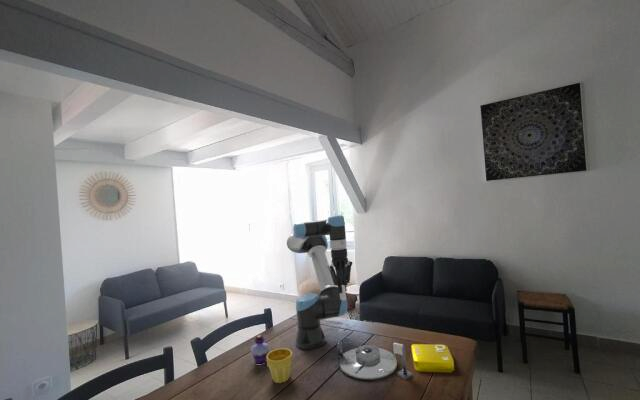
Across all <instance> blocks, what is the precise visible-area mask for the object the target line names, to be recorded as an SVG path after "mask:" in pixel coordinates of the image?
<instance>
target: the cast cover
mask: <svg viewBox="0 0 640 400" xmlns="http://www.w3.org/2000/svg"><path fill="white" fill-rule="evenodd" d="M356 348H357V349H356V359H357V363H358V364H360V365H362V366H367V367H370V366H375V365H377V364H379V363H380V350H379V348H380V347H377V346H376V345H371V344H365V345H363V344H362V345H361V346H359V347H356Z"/></svg>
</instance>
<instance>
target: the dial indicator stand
mask: <svg viewBox="0 0 640 400" xmlns="http://www.w3.org/2000/svg"><path fill="white" fill-rule="evenodd" d="M392 347H393V348H392V350H393V355H394V358H395V357H396V354H397V355H400V357H401V359H400V360H401V367H402V369H401V370H400V371H397V376H398V377H400V378H402V379H403V380H405V381H406V380H408V379H409V378H411V377H413V376H414V375H413V372H412V371H409V370H408V369H407V359H406V348H405V346H404V344H403V343H398V342H393V343H392ZM396 358H397V357H396Z"/></svg>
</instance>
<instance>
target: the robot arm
mask: <svg viewBox="0 0 640 400" xmlns="http://www.w3.org/2000/svg"><path fill="white" fill-rule="evenodd" d="M292 229H293V234H291V235H290V236H289V237H288V238H287V240H286V246H287V248H288V249H289V251H291V252H293V253H295V254H306V253H307V255H308V257H309V258H311V261H312V265H313V267H314V271H315V276H316V279H317V282H318V287H319V289H320V291H319V294H318V293H316V292H315V293H314V292H312V293H307V294H303V295H301V296H299V297H298V298H297V299H296V301H295V310H296V320H297V321H296V322H297V332H296V335H295V347H296V348H298V347H299V349H301V350H314V349H318V348H320V347H322V346H323V345H325V343H326V335H325V333H324V331H323V329H322V326H321V325H322V324H321V321H322V320H323V321H324V320H327V319H332V318H339V317H342V316H345V315H346V314H347V311H348V298H347V294H346V293H347V285H348V284H350V283H351V282H350V280H351V270H352V265H353V262H352V261H350V260H349V258H348V249H347V237H346V222H345V217H344V215H340V214H339V215H338V214H337V215H331V216H330V215H329V216H328V218H327V219H323V220H313V221H304V222H303V221H301V222H300V221H299V222H296V223H294V224H293V228H292ZM326 236H329V244H330V256H331V263H330V264H329V262H328V259H327V256H326V253H327V249H328V245H329V244H328V240H327V237H326Z"/></svg>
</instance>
